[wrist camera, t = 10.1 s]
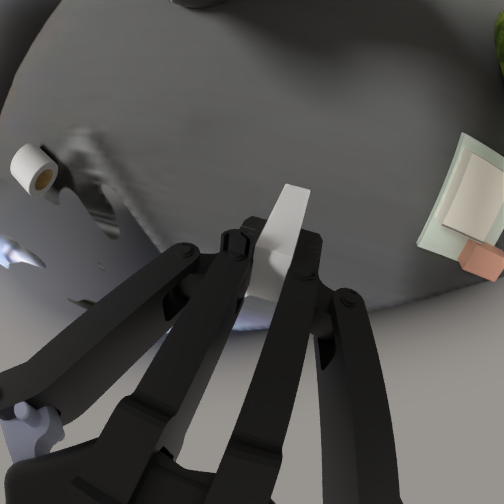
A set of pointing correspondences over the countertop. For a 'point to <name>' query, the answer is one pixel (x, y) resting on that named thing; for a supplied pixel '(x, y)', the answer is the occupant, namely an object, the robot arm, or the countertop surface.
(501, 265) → the pink rectangular block
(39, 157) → the toilet paper
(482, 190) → the cream flat block
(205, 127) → the countertop surface
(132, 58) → the countertop surface
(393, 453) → the robot arm
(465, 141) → the board
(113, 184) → the countertop surface
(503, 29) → the lettuce
